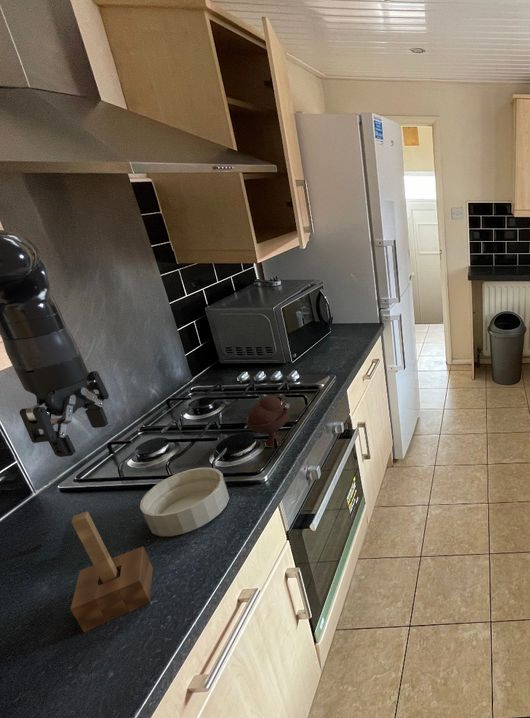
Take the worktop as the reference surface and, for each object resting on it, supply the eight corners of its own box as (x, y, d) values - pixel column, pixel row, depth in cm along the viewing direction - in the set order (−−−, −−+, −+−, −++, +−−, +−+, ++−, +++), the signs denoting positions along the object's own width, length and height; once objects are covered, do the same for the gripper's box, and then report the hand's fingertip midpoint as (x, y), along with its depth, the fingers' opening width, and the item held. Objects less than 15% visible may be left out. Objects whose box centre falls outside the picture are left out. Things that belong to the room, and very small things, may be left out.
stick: (114, 604, 77) (71, 522, 69) (115, 596, 78) (73, 515, 70) (126, 598, 78) (86, 517, 70) (127, 591, 79) (87, 511, 71)
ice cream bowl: (278, 427, 128) (268, 385, 123) (302, 438, 123) (292, 394, 118) (244, 446, 120) (231, 401, 114) (268, 458, 115) (256, 412, 109)
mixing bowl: (147, 550, 87) (137, 527, 85) (151, 506, 99) (142, 484, 96) (232, 517, 96) (225, 495, 93) (227, 479, 107) (220, 459, 105)
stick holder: (83, 632, 72) (70, 609, 70) (92, 592, 79) (79, 570, 76) (150, 602, 77) (139, 580, 75) (153, 567, 84) (143, 545, 81)
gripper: (52, 342, 73) (87, 420, 79) (-23, 379, 60) (25, 469, 66) (103, 338, 75) (133, 415, 81) (40, 374, 62) (82, 462, 68)
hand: (84, 440), depth 73 cm, fingers open, 8 cm apart
